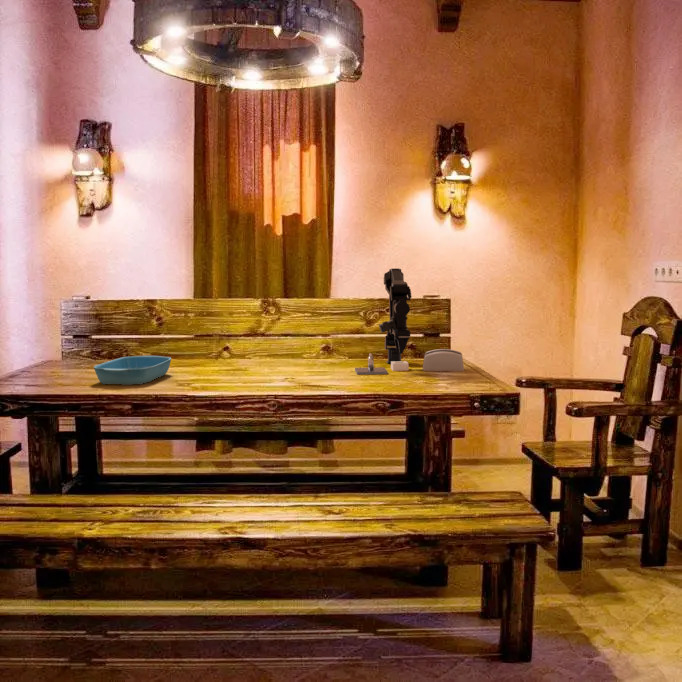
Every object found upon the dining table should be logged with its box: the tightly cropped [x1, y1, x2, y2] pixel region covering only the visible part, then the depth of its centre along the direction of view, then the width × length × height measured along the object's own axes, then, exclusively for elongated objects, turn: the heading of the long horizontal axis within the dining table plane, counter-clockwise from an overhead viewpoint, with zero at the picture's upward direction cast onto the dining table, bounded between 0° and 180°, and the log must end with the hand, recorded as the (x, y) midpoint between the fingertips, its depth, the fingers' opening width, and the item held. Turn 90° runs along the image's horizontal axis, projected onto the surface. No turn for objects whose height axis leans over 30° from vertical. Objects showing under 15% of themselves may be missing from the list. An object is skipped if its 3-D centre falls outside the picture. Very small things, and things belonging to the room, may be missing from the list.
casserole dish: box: [93, 355, 172, 386], centre depth 279 cm, size 37×22×7 cm, turn 173°
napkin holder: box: [422, 348, 465, 372], centre depth 296 cm, size 17×5×10 cm, turn 85°
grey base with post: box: [354, 353, 388, 376], centre depth 292 cm, size 12×12×8 cm
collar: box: [390, 360, 410, 372], centre depth 299 cm, size 6×6×3 cm
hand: (399, 352), depth 299 cm, fingers open, 9 cm apart
